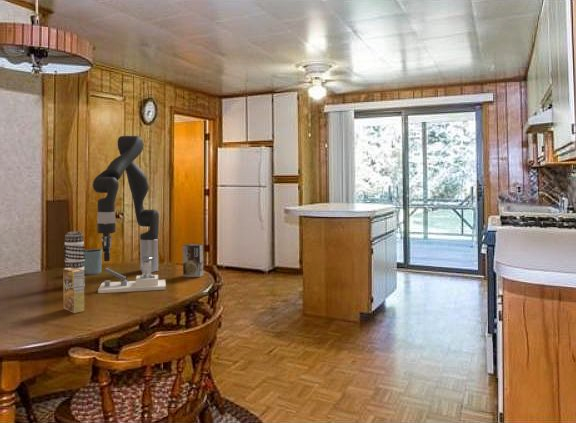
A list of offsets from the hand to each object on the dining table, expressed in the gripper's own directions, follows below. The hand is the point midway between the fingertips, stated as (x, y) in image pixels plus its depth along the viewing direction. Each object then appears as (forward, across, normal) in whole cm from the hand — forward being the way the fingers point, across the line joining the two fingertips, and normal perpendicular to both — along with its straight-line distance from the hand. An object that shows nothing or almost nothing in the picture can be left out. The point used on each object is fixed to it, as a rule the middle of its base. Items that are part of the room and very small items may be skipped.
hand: (106, 260), depth 204 cm
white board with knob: (+13, 0, +11) cm, 17 cm away
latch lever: (+7, 0, +3) cm, 7 cm away
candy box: (+13, +34, -8) cm, 37 cm away
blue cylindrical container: (+13, -42, -12) cm, 46 cm away
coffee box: (+13, -21, +39) cm, 46 cm away
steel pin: (+11, 0, +17) cm, 20 cm away
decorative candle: (+13, -10, -15) cm, 22 cm away
